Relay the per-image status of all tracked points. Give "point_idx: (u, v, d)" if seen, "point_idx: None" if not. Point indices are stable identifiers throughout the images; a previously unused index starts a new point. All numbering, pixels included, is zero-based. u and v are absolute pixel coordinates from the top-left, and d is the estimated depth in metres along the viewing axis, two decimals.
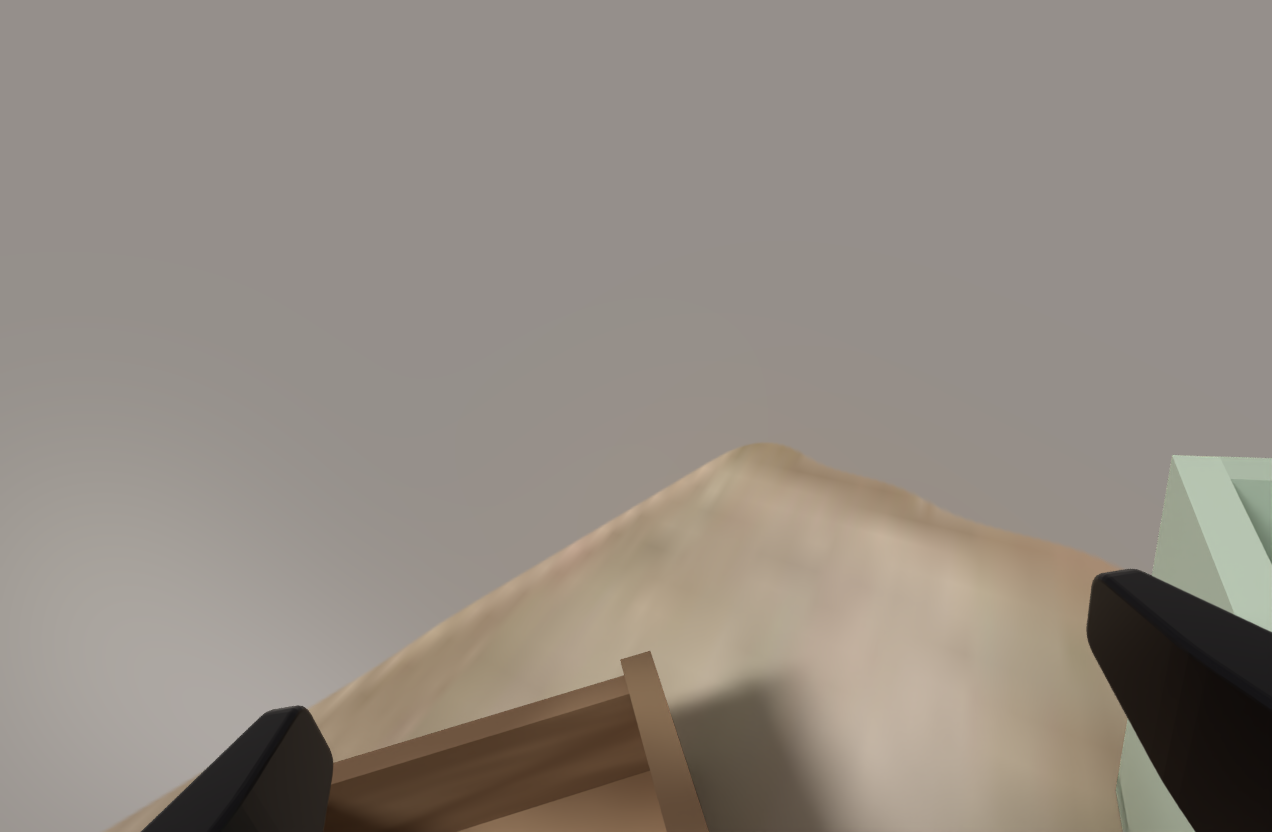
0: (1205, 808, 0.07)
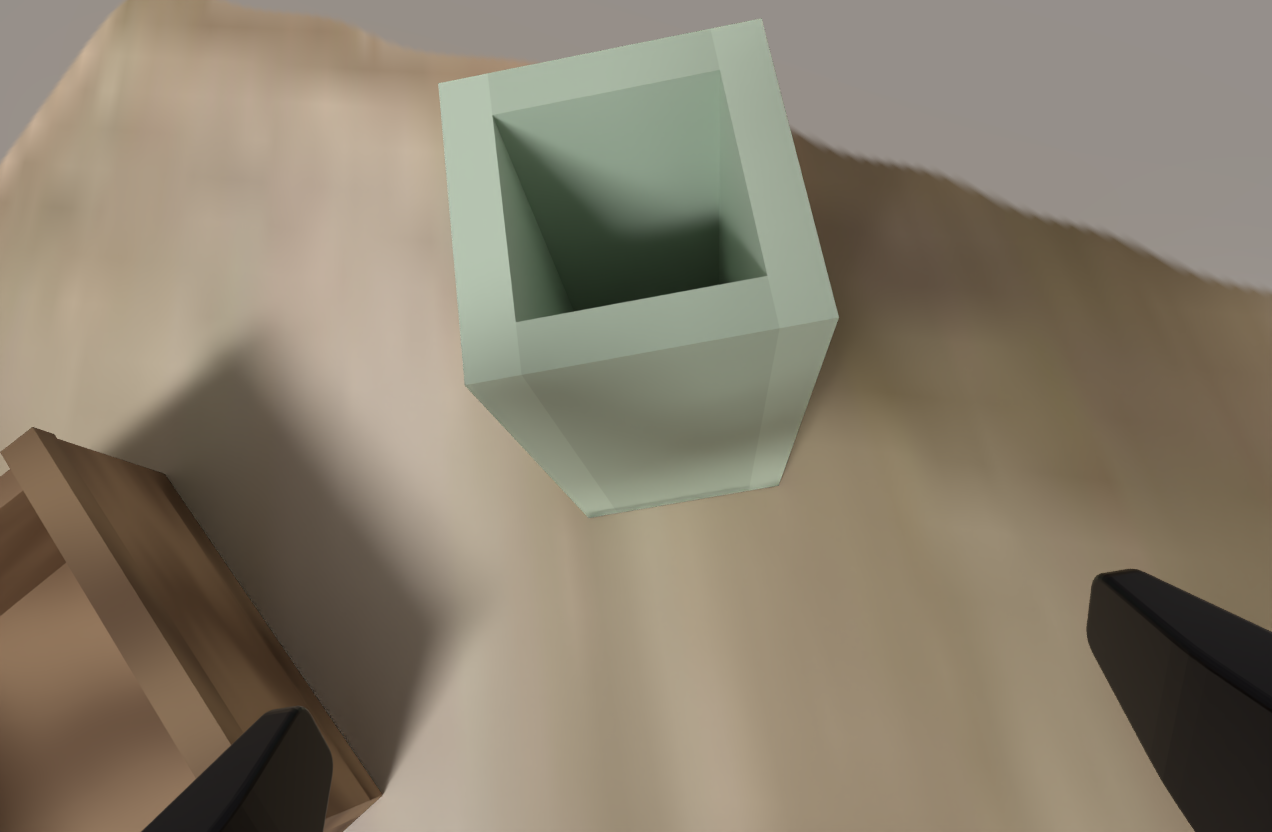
0: (1206, 808, 0.07)
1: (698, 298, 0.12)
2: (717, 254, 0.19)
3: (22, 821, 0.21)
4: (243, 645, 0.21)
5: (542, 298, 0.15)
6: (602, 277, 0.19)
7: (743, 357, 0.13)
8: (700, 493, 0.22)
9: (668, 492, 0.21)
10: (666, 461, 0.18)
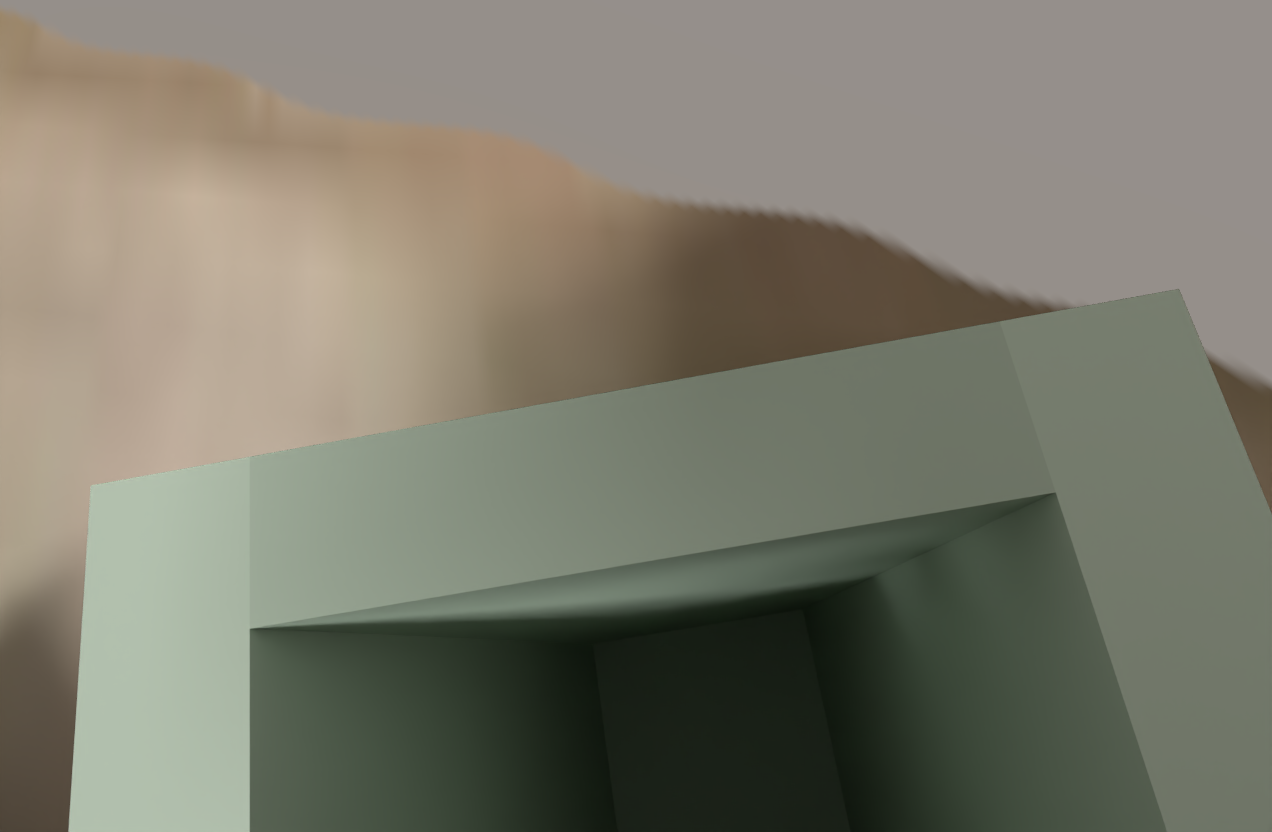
0: None
1: None
2: (840, 590, 0.10)
3: None
4: None
5: None
6: (613, 628, 0.10)
7: None
8: None
9: None
10: None
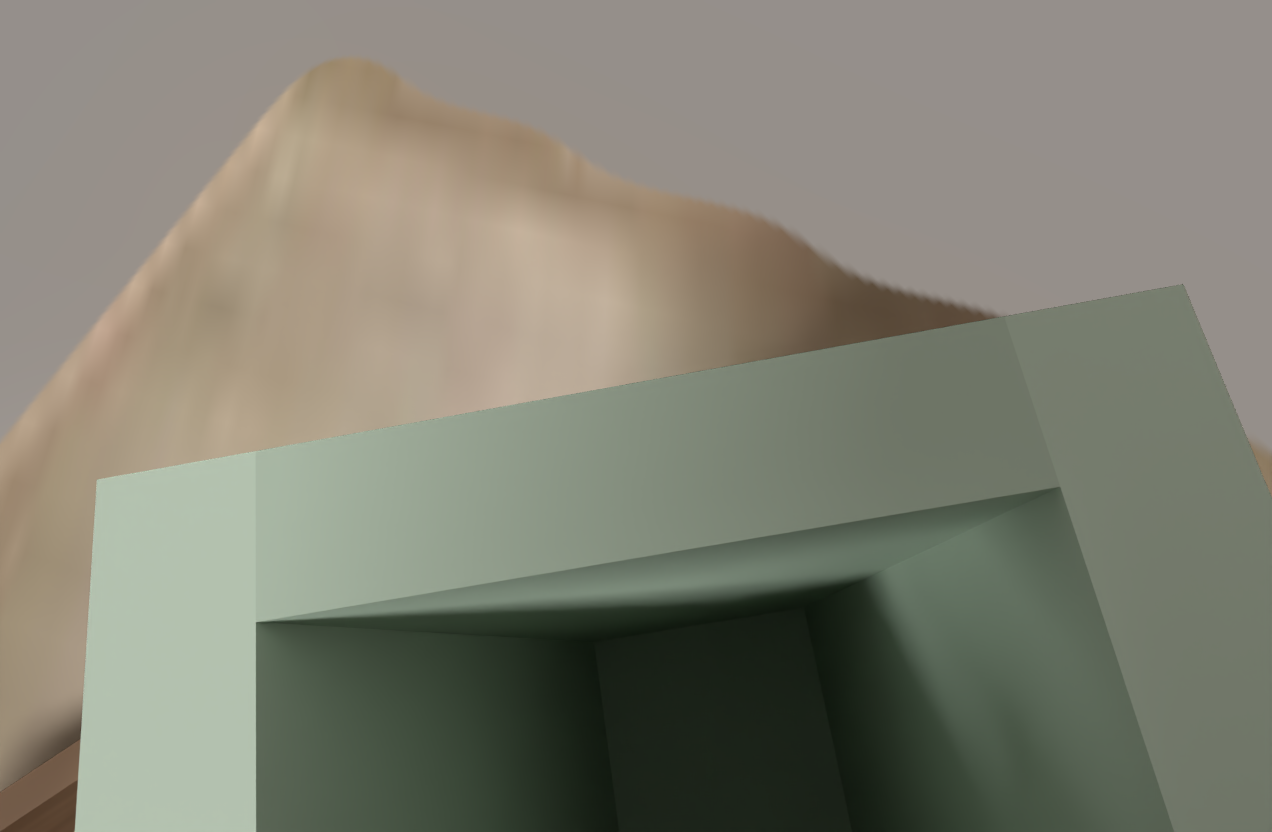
0: None
1: None
2: (842, 588, 0.10)
3: None
4: None
5: None
6: (615, 626, 0.10)
7: None
8: None
9: None
10: None
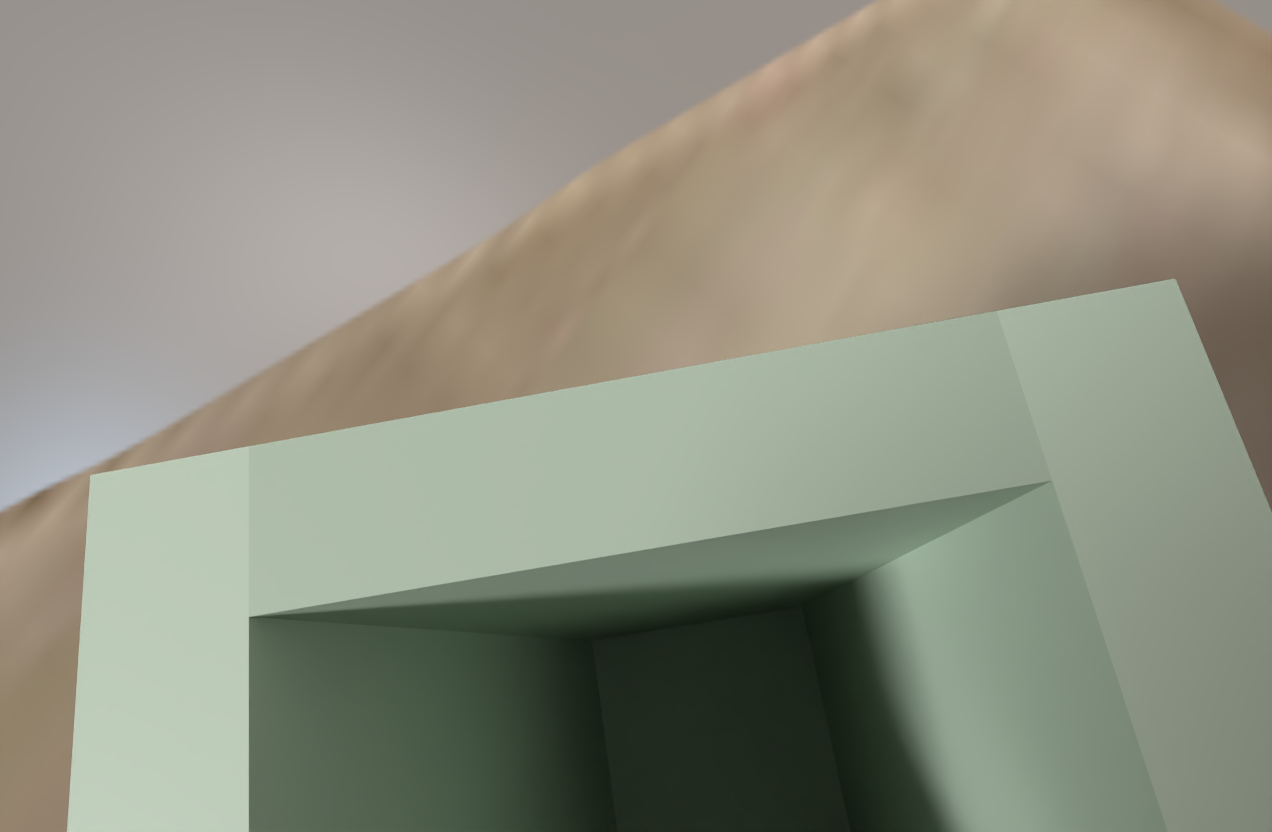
0: None
1: None
2: (839, 585, 0.10)
3: None
4: None
5: None
6: (612, 624, 0.10)
7: None
8: None
9: None
10: None
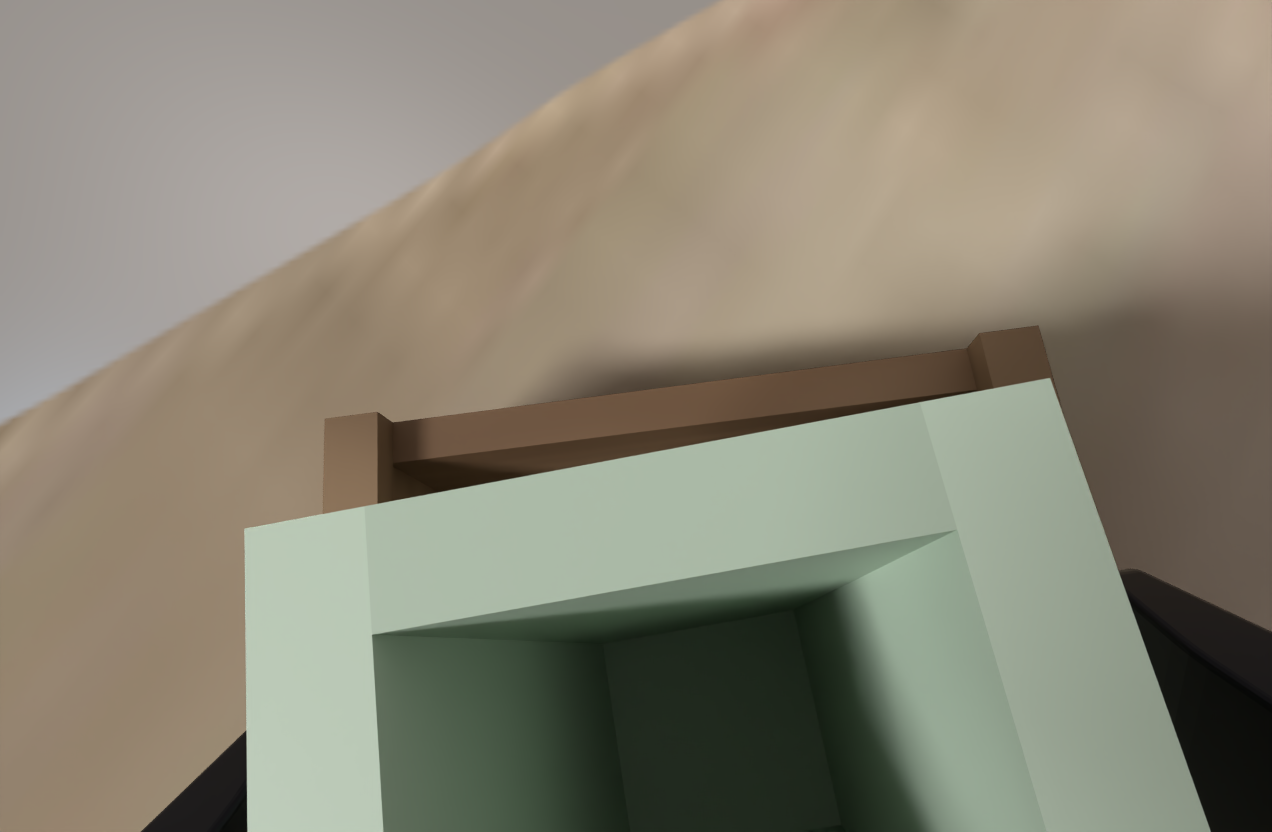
0: (1205, 808, 0.07)
1: None
2: (823, 594, 0.11)
3: None
4: None
5: None
6: (625, 630, 0.11)
7: None
8: None
9: None
10: None
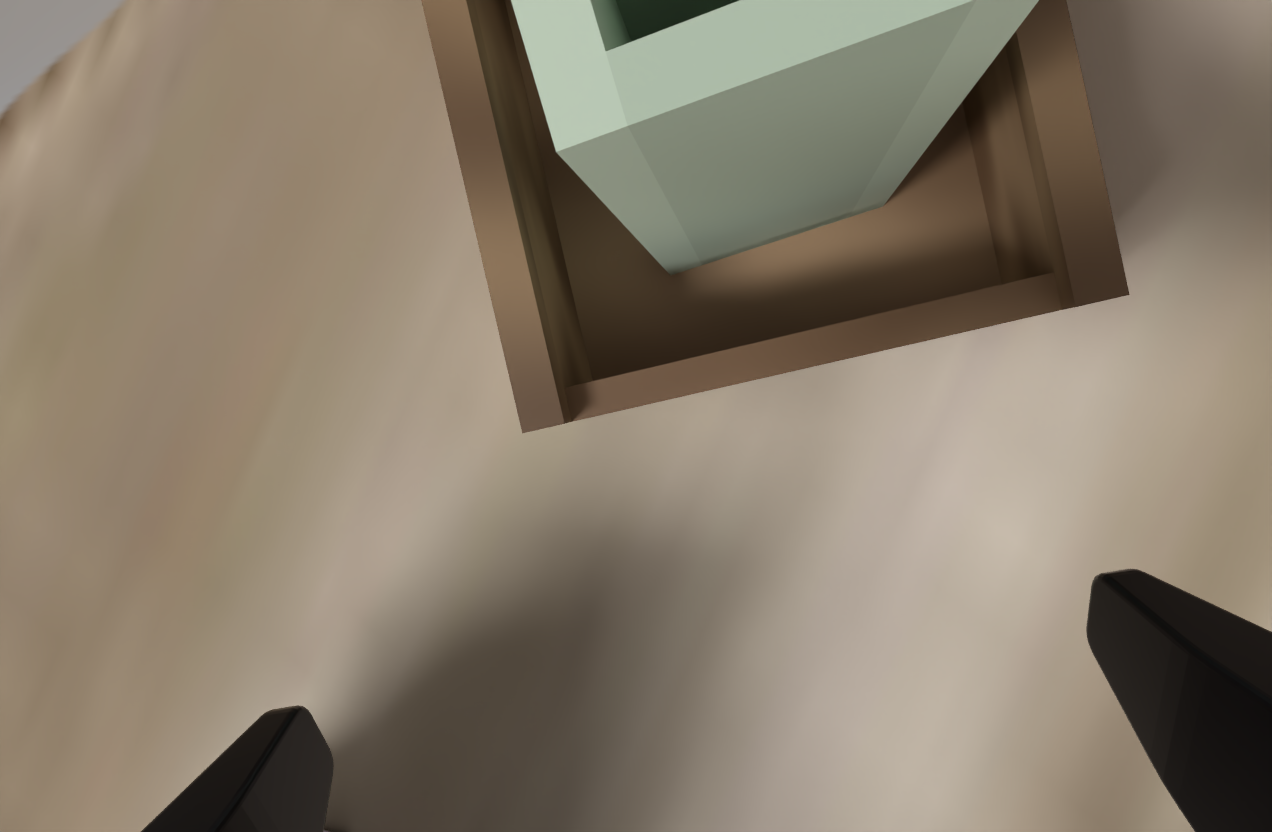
0: (1205, 808, 0.07)
1: None
2: None
3: None
4: None
5: (608, 12, 0.12)
6: None
7: (911, 52, 0.09)
8: (795, 229, 0.20)
9: (762, 234, 0.19)
10: (770, 201, 0.15)
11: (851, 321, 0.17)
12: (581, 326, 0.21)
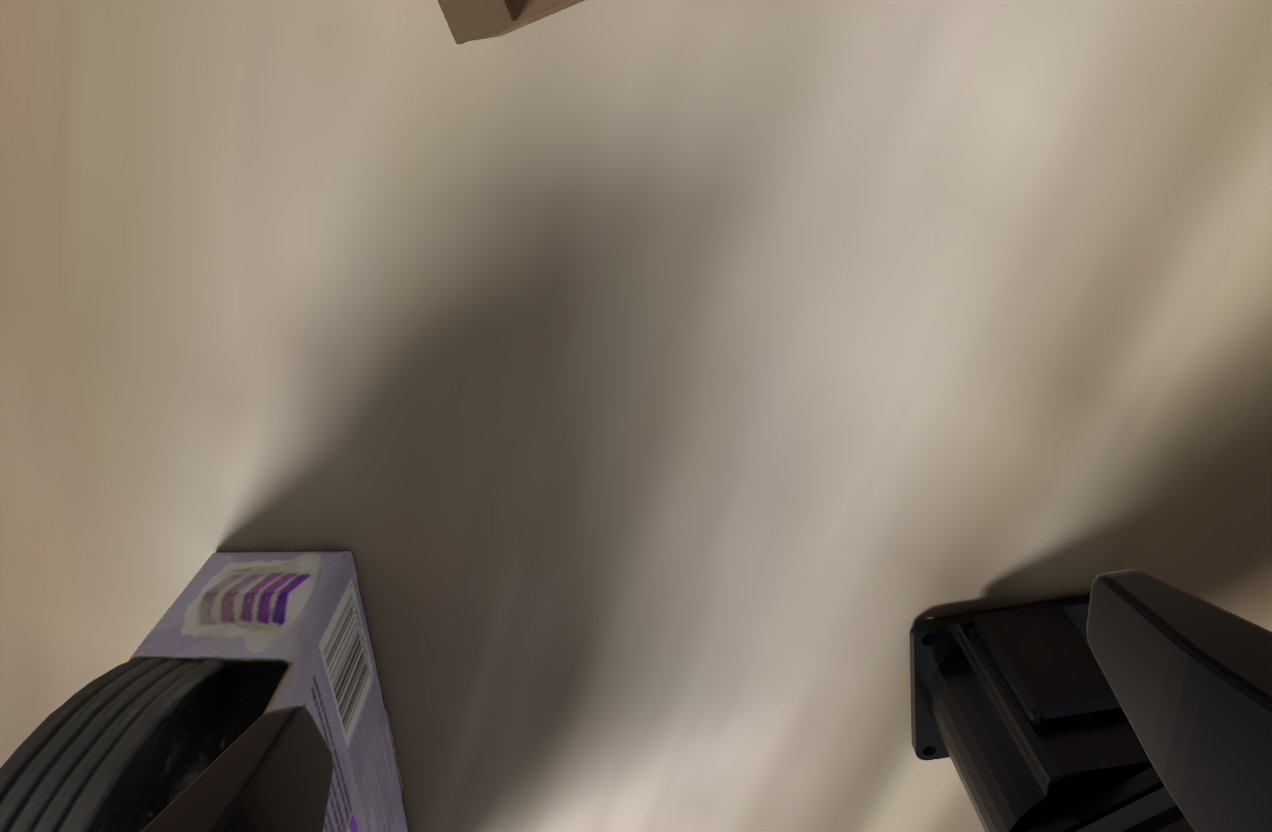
0: (1205, 808, 0.07)
1: None
2: None
3: None
4: None
5: None
6: None
7: None
8: None
9: None
10: None
11: None
12: None
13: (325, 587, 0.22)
